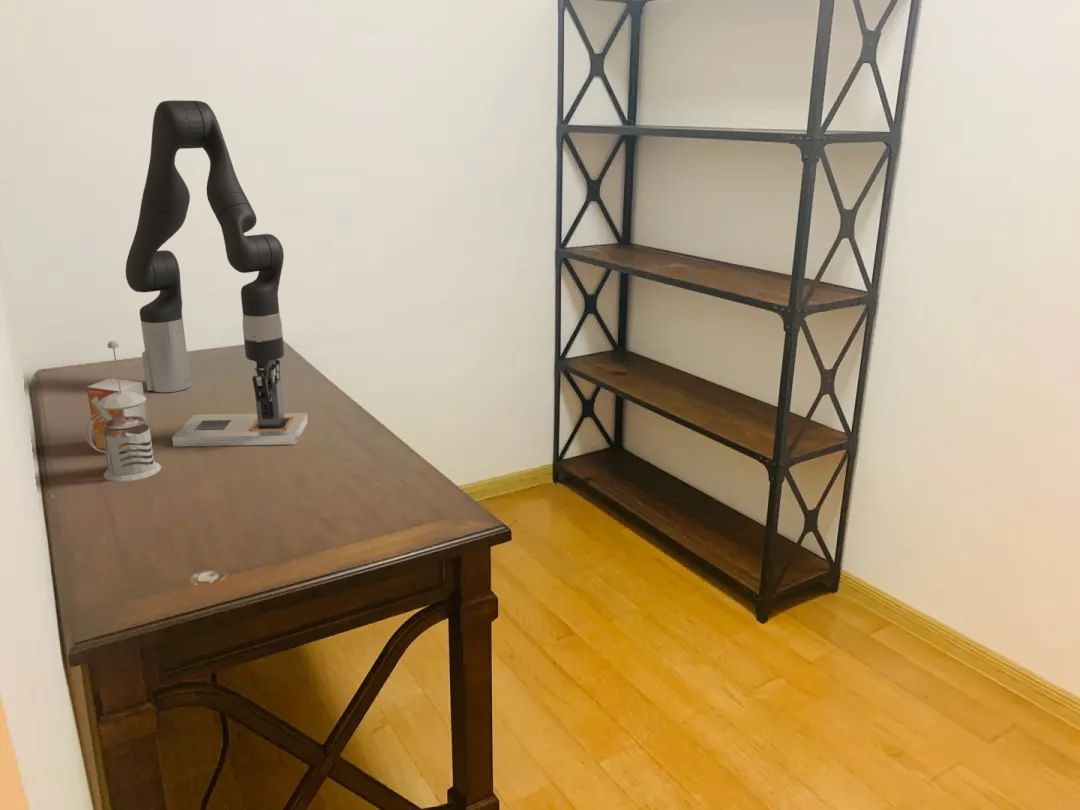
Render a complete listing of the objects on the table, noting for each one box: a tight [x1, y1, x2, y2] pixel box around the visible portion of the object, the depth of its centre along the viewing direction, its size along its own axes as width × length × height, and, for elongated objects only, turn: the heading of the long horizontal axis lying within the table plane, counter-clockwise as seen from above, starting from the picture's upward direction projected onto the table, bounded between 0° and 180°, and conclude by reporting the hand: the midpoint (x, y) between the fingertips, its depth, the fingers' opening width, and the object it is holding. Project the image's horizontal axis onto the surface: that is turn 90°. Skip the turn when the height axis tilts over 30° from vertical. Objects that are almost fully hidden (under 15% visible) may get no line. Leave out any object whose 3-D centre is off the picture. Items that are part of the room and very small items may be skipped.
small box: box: [86, 378, 149, 453], centre depth 166 cm, size 8×6×13 cm
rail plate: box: [172, 412, 309, 448], centre depth 175 cm, size 24×14×2 cm, turn 95°
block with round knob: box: [254, 377, 285, 429], centre depth 174 cm, size 4×4×11 cm
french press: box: [84, 340, 162, 482], centre depth 151 cm, size 10×12×25 cm
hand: (270, 414), depth 175 cm, fingers closed on block with round knob, 4 cm apart
